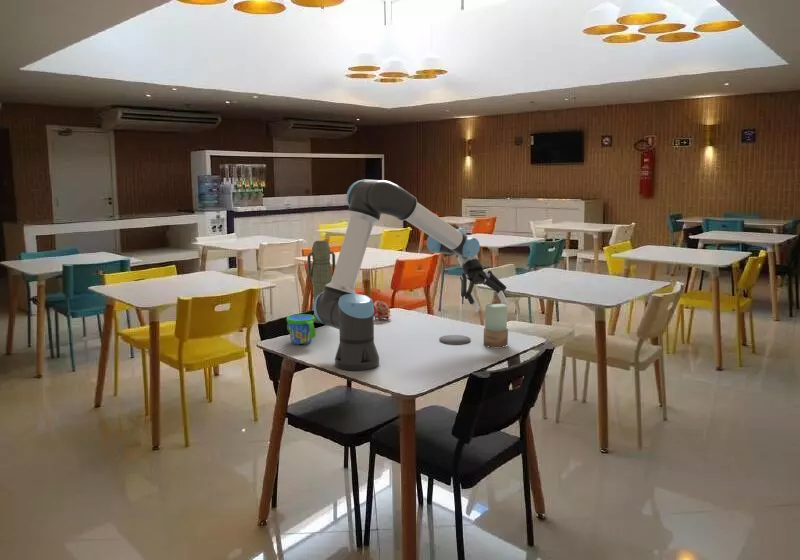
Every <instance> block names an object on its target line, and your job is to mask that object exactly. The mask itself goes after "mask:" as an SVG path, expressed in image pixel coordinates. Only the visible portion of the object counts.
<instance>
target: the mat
mask: <svg viewBox="0 0 800 560" xmlns="http://www.w3.org/2000/svg"><path fill="white" fill-rule="evenodd" d="M439 342H440V343H442V344H447V345H453V346H454V345H458V346H459V345H465V344H469V343H470V342H471V338H470V337H469V336H466V335H461V334H460V335H459V334H447V335H442V336H439Z"/></svg>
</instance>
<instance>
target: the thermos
mask: <svg viewBox="0 0 800 560" xmlns="http://www.w3.org/2000/svg"><path fill="white" fill-rule="evenodd" d="M330 247H331V246H330V244H329V242H328V241H327V240H315V241H314V242H313V244H312V247H311V248H312V249H311V252H309V253H308V254H307V258H306V259H307V275H308V276H309V277H310V278H311V283H312V297H313V298H312V299H313V304H312V306H311V308H312V309H311V310H312V311H314V310H313V305H314V301H315V299H316V297H317V296H318V295H320V294H321V293H322V292H323V291H324V288H325V285H326V284H328V283H330V282H331V280H332V277H333V273H334V270H335V267H336V254H335V253H334V251H331V248H330ZM311 256H312V262H311ZM331 257H332V258H331ZM331 261H332V262H331ZM311 263H312V265H311ZM331 263H332V265H331ZM312 311H311V312H312ZM313 316H314V317H315V321H314V323H315V324H323V323H322V322H320V321H319V320H318V319H317V318H316V316H315V314H313Z"/></svg>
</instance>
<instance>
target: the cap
mask: <svg viewBox="0 0 800 560" xmlns="http://www.w3.org/2000/svg"><path fill="white" fill-rule="evenodd" d="M484 318H485V319H484V321H485V324H484V328H485V330H487V331H491V332H503V331H506V330H507V329H508V328H507V325H508V306H507V305H504V304H502V303H488V304H485V317H484Z"/></svg>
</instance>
